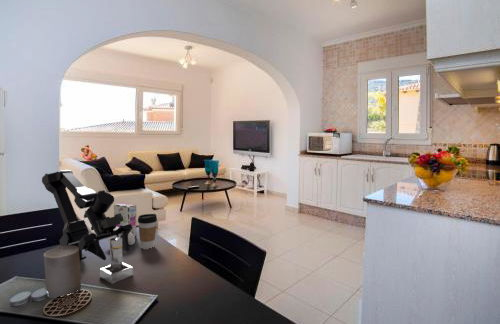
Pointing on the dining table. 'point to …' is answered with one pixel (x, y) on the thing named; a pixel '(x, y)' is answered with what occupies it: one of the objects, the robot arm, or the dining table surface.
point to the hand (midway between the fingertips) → (117, 255)
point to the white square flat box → (116, 273)
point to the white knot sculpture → (130, 238)
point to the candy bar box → (126, 215)
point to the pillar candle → (62, 270)
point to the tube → (115, 254)
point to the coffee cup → (147, 230)
